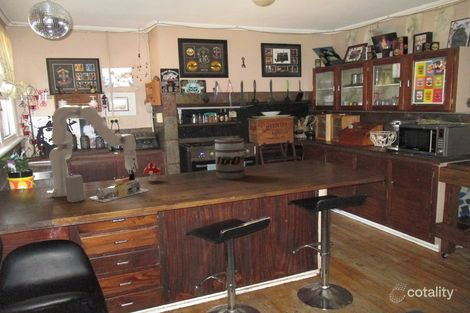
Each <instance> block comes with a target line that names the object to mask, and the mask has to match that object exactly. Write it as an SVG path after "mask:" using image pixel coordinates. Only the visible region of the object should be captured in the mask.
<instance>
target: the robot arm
mask: <svg viewBox="0 0 470 313" xmlns="http://www.w3.org/2000/svg"><path fill="white" fill-rule="evenodd" d="M68 119H70V120H71V119H83V120H84V121H85V122H86V123H88V124H89V125H90V126H91V127H92V128H94V130H95V131H96V132H97V134H98V135H99V137H101V139H103V141H104V142H106V143H107V144H108V145H109V146H111V147H114V148H115V147H119V146H122V148H123V156H124V168H125V169H126V171H127V173H128V177H129V180H132V181H136V175H135V173H136V172H137V170H138V169H139V163H138V158H137V153H136V141H135V140H136V139H135V135H134V134H133V133H126V134H125V133H124V134H121V133H117V134H116V133H114V132H113V131H112V130H111V129H110V128H109V126H108V123H107V121H106V119H104V118H103V117H102V116H101V115H100V114H99V113H98V110H97V108H96V107H95V106H93V105H62V106H60V107H57V109H55V110H54V112H53V115H52V127H51V128H52V129H51V131H52V132H51V141H52V143H53V144H54V145H55V146H57V147H54V148H53V149H51V150H50V152H49V156H48V158H49V162H50V165H51V173H52V183H53V188H52V190H47V191H46V192H45V193H46V195H51V196H52V197H55V198H59V197H67V191H66V182H65V177H67V176H70V175H69V166H68V163H67V161H68V159H70V158H71V157H72V154H73V142H74V140H73V135H72V133H71V132H70V131H68V122H67V120H68Z"/></svg>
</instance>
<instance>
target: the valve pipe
mask: <svg viewBox="0 0 470 313" xmlns="http://www.w3.org/2000/svg"><path fill="white" fill-rule="evenodd" d="M147 192H149V189H147V188H142V182H141V180H136V179H135V180H134V181H132V182H131V181H130V182H125V183H123V184H118V185H117V184H116V183H114V184H111V186H108V187H104V188H96V190H95V195H94V196H90V197H88V199H89V200H92V201H95V202H101V203H106V202H112V201H115V200H119V199H123V198H126V197H131V196H134V195H139V194H143V193H147Z"/></svg>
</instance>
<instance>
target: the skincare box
mask: <svg viewBox="0 0 470 313" xmlns="http://www.w3.org/2000/svg"><path fill="white" fill-rule="evenodd" d="M65 182H66V191H67V196H66V199H67V202H68V203H71V202H72V203H71V204H74V203H77V202H81V201H84V200H85V190H84V178H83V175H80V174H73V175H69V176H67V177H65ZM73 202H74V203H73Z"/></svg>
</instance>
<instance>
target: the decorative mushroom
mask: <svg viewBox="0 0 470 313" xmlns="http://www.w3.org/2000/svg"><path fill="white" fill-rule="evenodd" d="M161 172H162V170H161V169H160V168H159V167H157V165H156V163H154V162H151V161H150V162H149V163H148V165H147V166H146V167H145V168H144V170H143V172H142V174H144V175H149V178H148V181H149V182H156V181H157V177H156V174H159V173H161Z"/></svg>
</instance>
